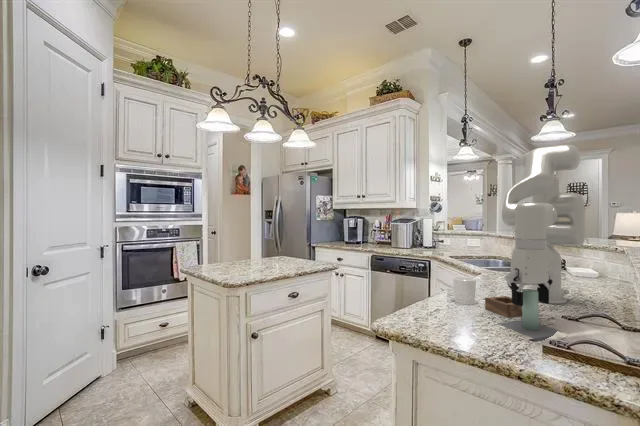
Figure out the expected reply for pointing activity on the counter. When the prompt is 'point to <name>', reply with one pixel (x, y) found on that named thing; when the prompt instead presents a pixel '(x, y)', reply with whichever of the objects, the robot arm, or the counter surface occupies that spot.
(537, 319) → the pale green cylinder
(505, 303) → the box
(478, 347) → the counter surface
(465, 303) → the white cup
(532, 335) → the mat
